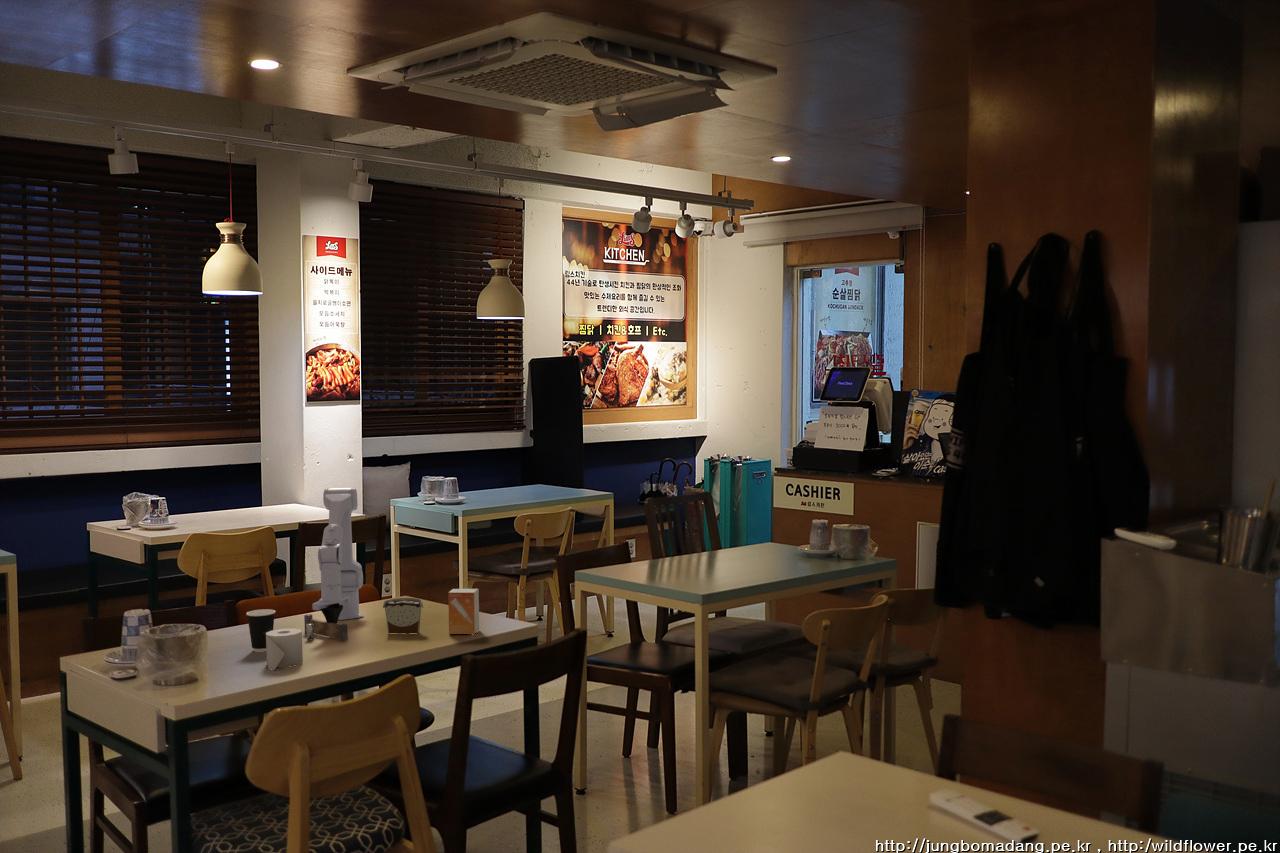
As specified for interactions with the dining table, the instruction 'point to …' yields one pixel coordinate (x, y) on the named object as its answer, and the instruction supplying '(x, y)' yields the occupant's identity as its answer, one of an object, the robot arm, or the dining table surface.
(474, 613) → the small box
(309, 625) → the post
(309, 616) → the hinge post
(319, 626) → the brown long bar
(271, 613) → the dixie cup
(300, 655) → the toilet tissue
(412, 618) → the food container
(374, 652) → the dining table surface
